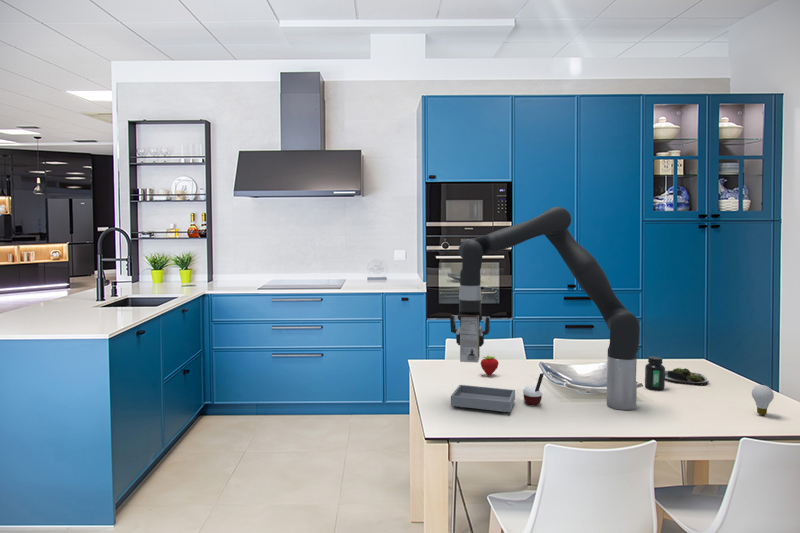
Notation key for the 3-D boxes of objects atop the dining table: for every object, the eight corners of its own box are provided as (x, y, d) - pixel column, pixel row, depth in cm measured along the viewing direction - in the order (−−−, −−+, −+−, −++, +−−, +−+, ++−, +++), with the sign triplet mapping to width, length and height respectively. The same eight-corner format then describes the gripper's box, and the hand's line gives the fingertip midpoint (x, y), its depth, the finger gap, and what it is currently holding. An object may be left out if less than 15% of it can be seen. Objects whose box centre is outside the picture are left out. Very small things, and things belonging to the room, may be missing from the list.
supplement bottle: (659, 392, 192) (660, 361, 191) (641, 388, 197) (642, 357, 196) (667, 388, 196) (668, 358, 195) (649, 384, 201) (650, 354, 201)
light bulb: (751, 411, 171) (753, 381, 171) (773, 414, 168) (774, 385, 167) (749, 415, 167) (751, 385, 166) (772, 419, 163) (773, 389, 163)
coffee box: (461, 355, 183) (461, 311, 182) (479, 356, 181) (480, 311, 180) (459, 362, 174) (459, 315, 173) (478, 362, 172) (478, 315, 171)
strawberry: (500, 377, 211) (500, 354, 211) (482, 378, 211) (482, 354, 210) (496, 374, 217) (496, 350, 217) (479, 374, 217) (479, 351, 216)
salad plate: (656, 371, 223) (656, 360, 223) (703, 375, 216) (703, 364, 216) (659, 383, 205) (659, 371, 205) (710, 388, 198) (711, 376, 198)
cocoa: (520, 401, 183) (519, 368, 182) (537, 400, 183) (536, 367, 183) (528, 409, 173) (527, 374, 173) (546, 408, 174) (545, 373, 173)
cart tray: (515, 402, 180) (515, 389, 180) (510, 415, 167) (510, 402, 167) (459, 396, 187) (459, 384, 187) (450, 409, 174) (450, 396, 173)
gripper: (492, 297, 178) (492, 344, 179) (452, 296, 182) (452, 342, 183) (489, 300, 170) (488, 349, 171) (447, 298, 175) (447, 346, 176)
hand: (469, 345), depth 177 cm, fingers closed on coffee box, 6 cm apart
